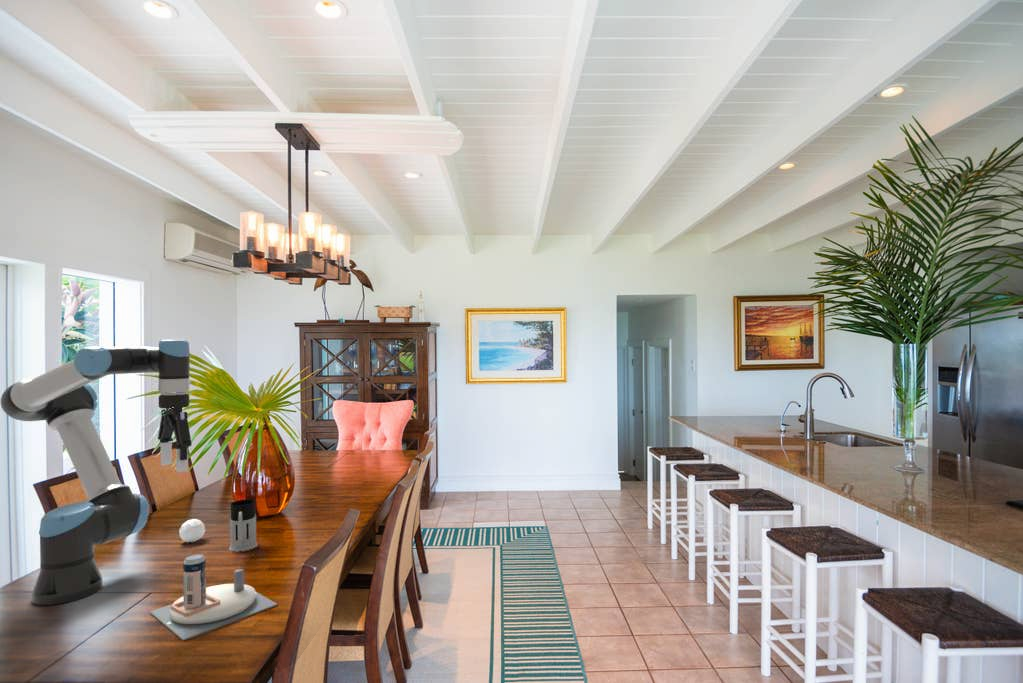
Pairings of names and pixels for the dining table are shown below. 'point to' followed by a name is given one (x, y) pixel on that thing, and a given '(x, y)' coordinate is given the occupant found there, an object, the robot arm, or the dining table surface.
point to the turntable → (216, 602)
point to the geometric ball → (192, 530)
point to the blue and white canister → (194, 581)
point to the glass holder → (243, 525)
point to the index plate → (197, 629)
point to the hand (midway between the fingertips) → (174, 468)
